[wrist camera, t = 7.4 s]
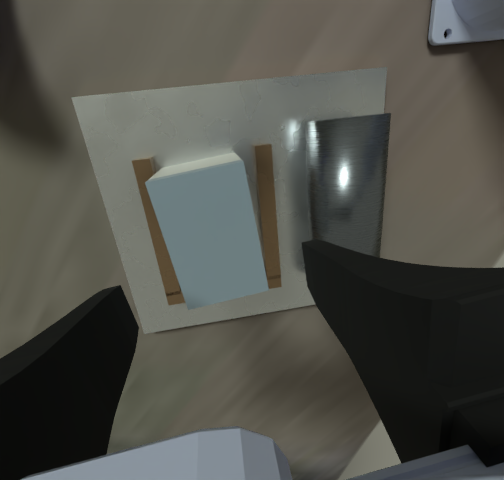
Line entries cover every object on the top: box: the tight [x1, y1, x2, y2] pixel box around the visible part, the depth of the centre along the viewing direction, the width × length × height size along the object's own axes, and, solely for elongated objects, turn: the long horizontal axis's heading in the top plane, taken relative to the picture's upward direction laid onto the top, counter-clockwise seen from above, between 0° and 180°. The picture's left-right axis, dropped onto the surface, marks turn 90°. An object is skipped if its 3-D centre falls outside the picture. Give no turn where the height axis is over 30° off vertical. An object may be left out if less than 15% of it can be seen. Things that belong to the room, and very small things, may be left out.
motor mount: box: [72, 67, 391, 334], centre depth 18 cm, size 18×16×5 cm
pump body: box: [145, 152, 269, 310], centre depth 16 cm, size 4×7×5 cm, turn 11°
